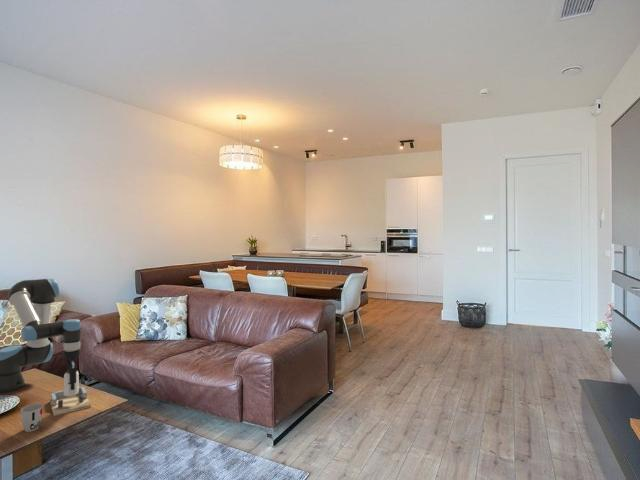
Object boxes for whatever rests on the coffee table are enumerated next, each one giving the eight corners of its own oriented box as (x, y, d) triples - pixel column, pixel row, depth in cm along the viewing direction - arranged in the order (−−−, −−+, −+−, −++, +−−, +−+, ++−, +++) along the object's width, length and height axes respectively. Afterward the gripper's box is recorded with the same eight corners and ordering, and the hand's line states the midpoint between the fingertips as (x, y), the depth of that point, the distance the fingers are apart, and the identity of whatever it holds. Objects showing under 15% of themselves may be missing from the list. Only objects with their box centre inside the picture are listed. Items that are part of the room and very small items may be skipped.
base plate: (49, 401, 202) (49, 393, 202) (84, 394, 212) (84, 386, 212) (53, 415, 187) (53, 406, 187) (90, 407, 197) (90, 398, 197)
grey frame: (51, 398, 202) (51, 392, 202) (83, 391, 212) (83, 386, 212) (52, 405, 194) (53, 399, 194) (86, 398, 204) (86, 392, 203)
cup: (30, 434, 169) (30, 412, 169) (15, 432, 171) (16, 410, 171) (46, 425, 177) (47, 404, 177) (32, 423, 179) (33, 402, 179)
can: (75, 390, 201) (76, 368, 201) (80, 393, 197) (80, 371, 197) (61, 394, 196) (62, 371, 196) (66, 397, 192) (66, 374, 192)
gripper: (61, 346, 201) (60, 389, 201) (65, 355, 186) (64, 401, 186) (77, 344, 206) (76, 385, 206) (83, 352, 191) (82, 397, 191)
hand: (71, 393), depth 196 cm, fingers closed on can, 6 cm apart
